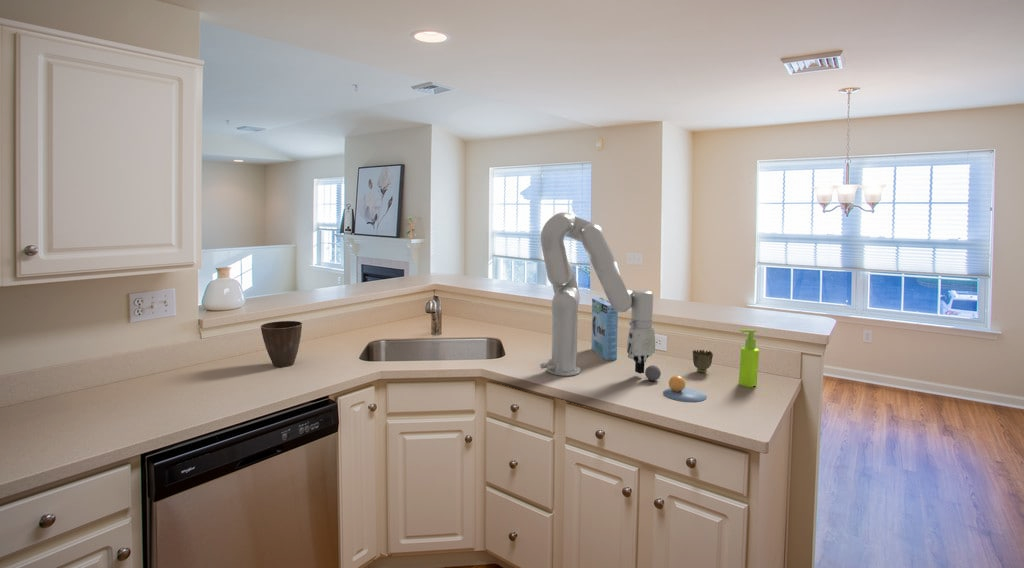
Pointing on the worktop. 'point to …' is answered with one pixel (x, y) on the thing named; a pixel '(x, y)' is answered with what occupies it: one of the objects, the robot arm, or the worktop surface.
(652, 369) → the grey sphere
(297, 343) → the plant pot
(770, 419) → the worktop surface
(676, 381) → the object ball
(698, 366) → the cup
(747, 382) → the soap dispenser
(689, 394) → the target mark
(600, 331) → the gum box
